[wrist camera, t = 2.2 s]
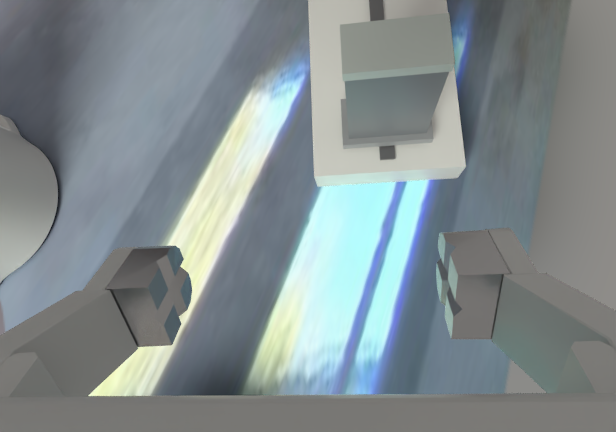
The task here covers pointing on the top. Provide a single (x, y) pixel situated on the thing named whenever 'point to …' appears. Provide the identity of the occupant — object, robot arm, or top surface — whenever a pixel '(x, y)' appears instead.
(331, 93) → the fader console
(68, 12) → the top surface
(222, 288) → the top surface
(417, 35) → the fader knob
